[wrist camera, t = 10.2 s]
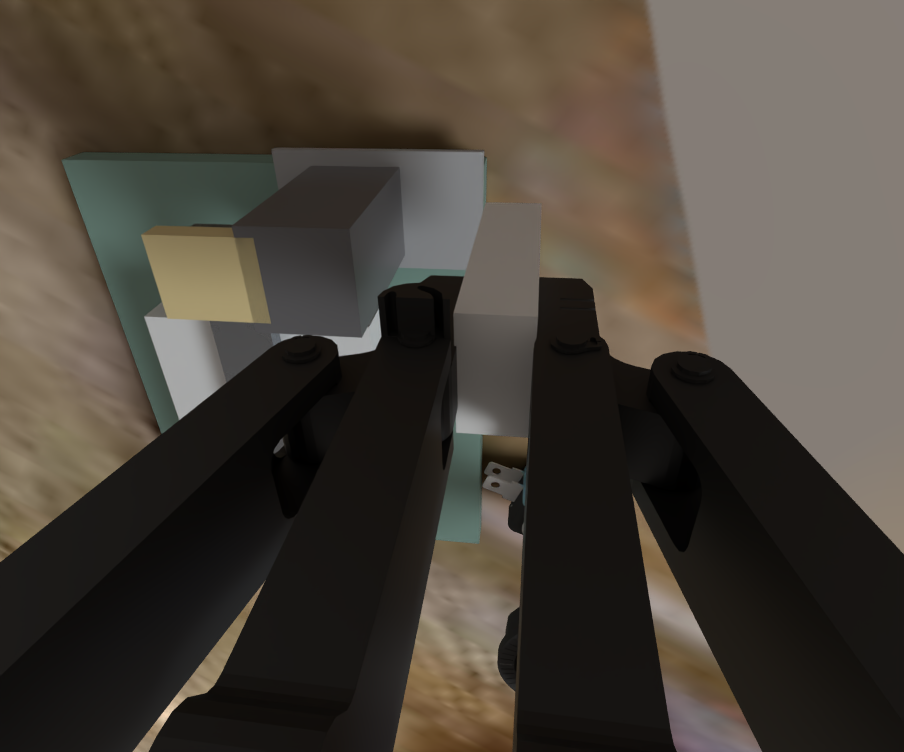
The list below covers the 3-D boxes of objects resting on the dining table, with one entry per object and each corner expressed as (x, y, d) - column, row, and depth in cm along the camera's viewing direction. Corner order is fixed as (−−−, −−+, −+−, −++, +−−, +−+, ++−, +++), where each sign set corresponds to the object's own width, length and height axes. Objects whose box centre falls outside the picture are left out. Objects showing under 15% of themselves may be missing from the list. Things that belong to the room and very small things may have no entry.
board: (203, 501, 32) (161, 564, 28) (78, 137, 22) (-11, 166, 18) (481, 525, 30) (472, 595, 26) (487, 142, 20) (475, 174, 16)
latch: (256, 249, 21) (170, 327, 16) (239, 164, 20) (137, 223, 15) (405, 254, 21) (362, 337, 16) (399, 167, 19) (349, 229, 14)
